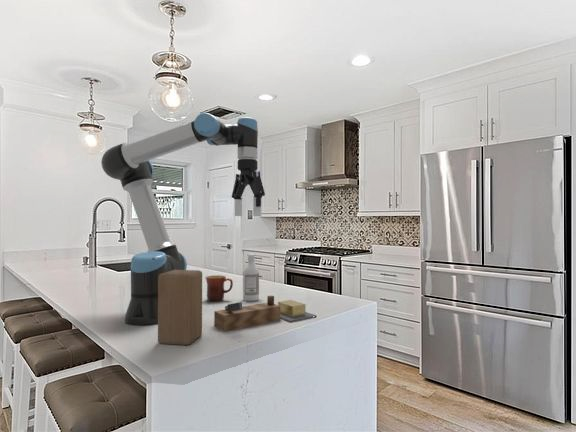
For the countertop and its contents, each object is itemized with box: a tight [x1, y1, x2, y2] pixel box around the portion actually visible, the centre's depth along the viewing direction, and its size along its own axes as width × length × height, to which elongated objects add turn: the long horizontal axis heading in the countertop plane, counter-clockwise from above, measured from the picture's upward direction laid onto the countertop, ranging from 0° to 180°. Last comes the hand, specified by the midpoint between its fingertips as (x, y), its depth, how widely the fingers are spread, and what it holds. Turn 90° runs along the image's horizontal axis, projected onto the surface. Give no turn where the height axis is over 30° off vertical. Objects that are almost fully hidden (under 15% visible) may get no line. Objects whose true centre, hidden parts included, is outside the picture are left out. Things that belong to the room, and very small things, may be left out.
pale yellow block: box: [277, 299, 306, 318], centre depth 137 cm, size 6×9×4 cm, turn 37°
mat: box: [280, 311, 317, 323], centre depth 137 cm, size 12×14×1 cm
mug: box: [205, 274, 234, 303], centre depth 162 cm, size 12×9×10 cm
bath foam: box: [242, 253, 260, 302], centre depth 164 cm, size 7×7×20 cm
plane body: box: [213, 295, 281, 332], centre depth 127 cm, size 22×7×8 cm, turn 127°
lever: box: [224, 302, 243, 312], centre depth 119 cm, size 2×2×9 cm
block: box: [157, 269, 203, 346], centre depth 109 cm, size 10×10×20 cm
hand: (247, 216), depth 139 cm, fingers open, 13 cm apart
